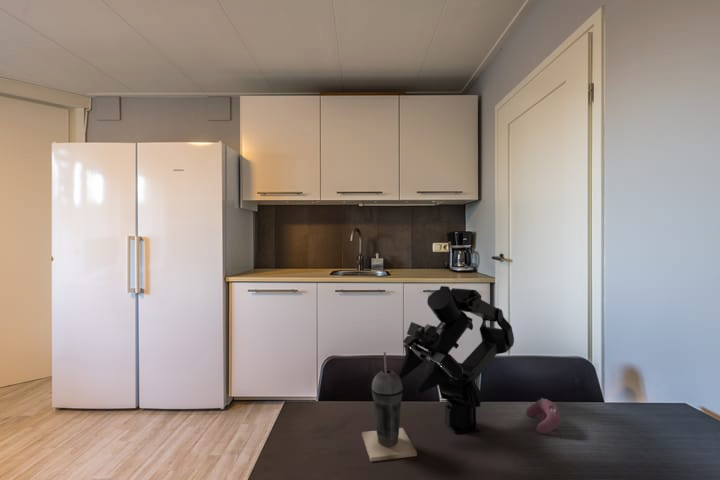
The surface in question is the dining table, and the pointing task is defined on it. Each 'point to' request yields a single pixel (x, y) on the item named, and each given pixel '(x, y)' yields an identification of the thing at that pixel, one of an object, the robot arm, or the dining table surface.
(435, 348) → the robot arm
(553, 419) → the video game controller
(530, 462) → the dining table surface
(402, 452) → the coaster board
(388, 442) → the beverage cup
